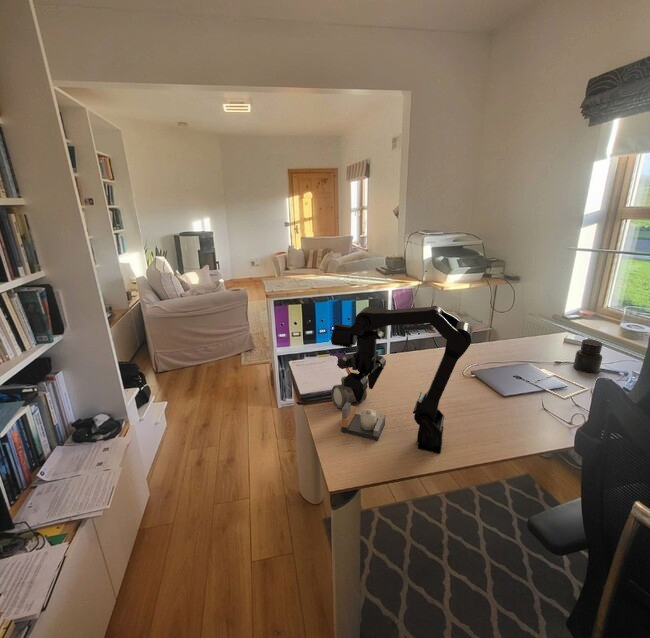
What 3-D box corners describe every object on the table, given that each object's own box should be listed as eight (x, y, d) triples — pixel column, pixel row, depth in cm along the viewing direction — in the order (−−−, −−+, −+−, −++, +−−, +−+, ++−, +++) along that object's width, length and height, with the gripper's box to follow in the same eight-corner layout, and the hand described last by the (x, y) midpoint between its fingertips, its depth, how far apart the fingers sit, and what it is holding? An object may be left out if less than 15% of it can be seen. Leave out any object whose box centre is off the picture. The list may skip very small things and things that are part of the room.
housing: (377, 422, 114) (378, 408, 112) (373, 431, 109) (374, 417, 107) (363, 419, 115) (363, 405, 114) (358, 428, 111) (358, 414, 109)
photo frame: (543, 368, 148) (589, 388, 132) (542, 370, 148) (588, 390, 133) (519, 376, 142) (564, 397, 126) (519, 378, 142) (563, 400, 127)
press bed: (384, 424, 115) (385, 415, 114) (377, 440, 107) (378, 431, 106) (350, 416, 119) (350, 407, 118) (341, 431, 112) (341, 422, 111)
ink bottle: (589, 363, 153) (595, 337, 149) (605, 373, 144) (612, 346, 140) (567, 364, 152) (573, 338, 148) (582, 373, 144) (588, 347, 140)
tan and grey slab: (355, 414, 118) (355, 397, 116) (347, 427, 111) (347, 410, 109) (349, 412, 118) (349, 396, 116) (341, 426, 112) (341, 409, 109)
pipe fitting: (340, 412, 121) (342, 384, 119) (329, 402, 128) (331, 376, 126) (369, 406, 126) (371, 380, 124) (357, 397, 133) (359, 372, 131)
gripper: (355, 334, 115) (354, 376, 121) (327, 356, 100) (327, 403, 105) (387, 340, 110) (385, 384, 115) (362, 364, 95) (361, 413, 100)
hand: (364, 395), depth 109 cm, fingers open, 9 cm apart
